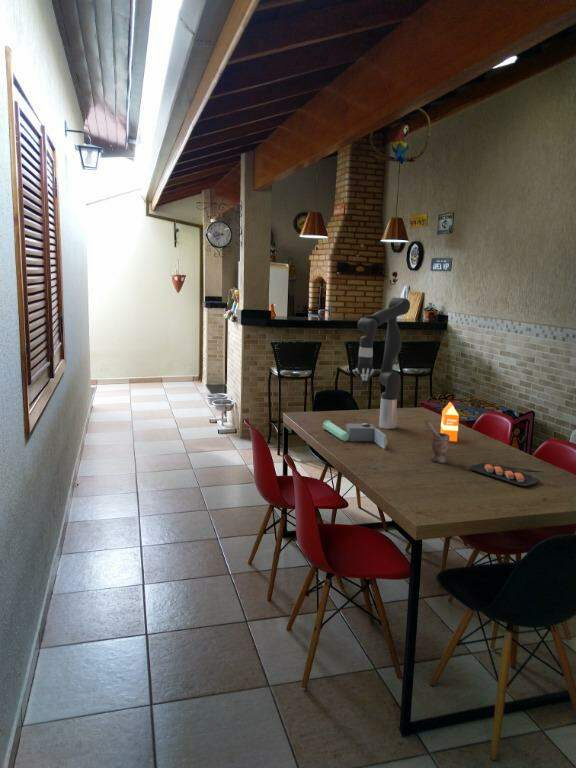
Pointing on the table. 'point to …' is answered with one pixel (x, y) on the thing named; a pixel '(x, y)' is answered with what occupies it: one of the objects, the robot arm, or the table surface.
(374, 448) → the table surface
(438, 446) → the mortar and pestle
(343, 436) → the mint green bar
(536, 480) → the sushi plate
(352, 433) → the camera case
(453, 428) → the orange juice
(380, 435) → the side door
